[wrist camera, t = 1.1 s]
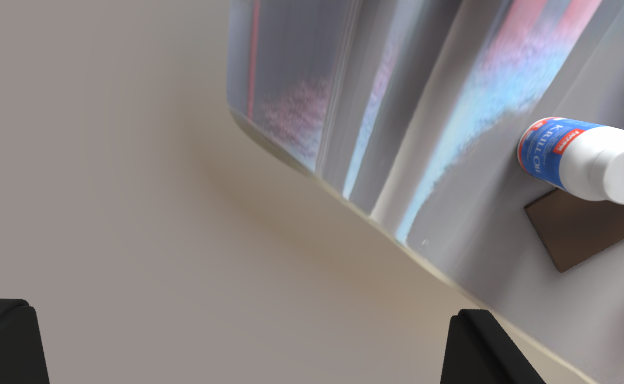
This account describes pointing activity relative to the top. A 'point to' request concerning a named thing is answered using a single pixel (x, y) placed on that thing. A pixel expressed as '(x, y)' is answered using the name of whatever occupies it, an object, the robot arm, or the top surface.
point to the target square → (575, 226)
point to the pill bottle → (575, 157)
